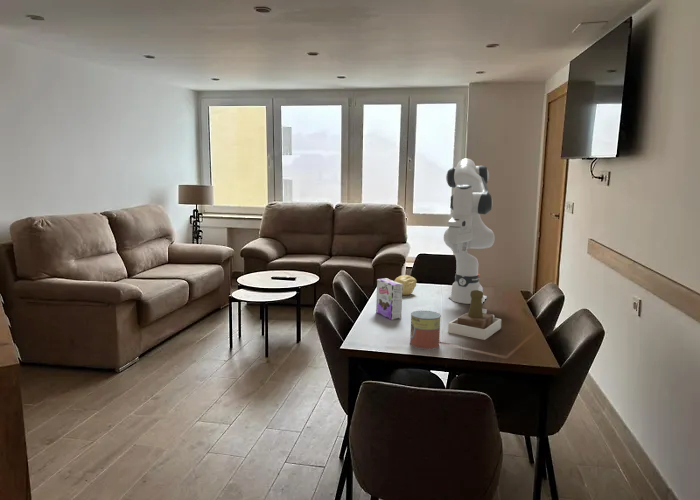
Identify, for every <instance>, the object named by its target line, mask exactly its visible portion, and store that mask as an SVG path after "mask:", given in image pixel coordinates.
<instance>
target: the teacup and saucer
mask: <svg viewBox="0 0 700 500" xmlns="http://www.w3.org/2000/svg"><path fill="white" fill-rule="evenodd" d="M487 310H488V309H487V308H482V312H483V313H485V314H487V312H488V311H487ZM490 314H491V313H490ZM491 315H493V318H495V315H494V314H491Z"/></svg>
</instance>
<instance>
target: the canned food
mask: <svg viewBox="0 0 700 500" xmlns="http://www.w3.org/2000/svg"><path fill="white" fill-rule="evenodd" d="M441 317H442V315H441V314H440V313H439V312H435V311H432V310H416V311H412V312H411V313H410V336H409V337H410V339H409V345H410V346H411V347H413V348H415V349H418V350H424V351H425V350H426V351H427V350H435V349H437V348H439V347H440V336H441V335H440V334H441V332H440V331H441Z"/></svg>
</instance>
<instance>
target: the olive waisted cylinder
mask: <svg viewBox="0 0 700 500" xmlns="http://www.w3.org/2000/svg"><path fill="white" fill-rule="evenodd" d="M483 295H484V291H483V292H482V291H479V290H473V291H471V293H470V296H471V303H470V305H469V308H468V309H469V310H468V312H469V314H468V316H469V317H471V318H483V312H482V309H483V303H482V298H483Z"/></svg>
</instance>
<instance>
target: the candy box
mask: <svg viewBox="0 0 700 500" xmlns="http://www.w3.org/2000/svg"><path fill="white" fill-rule="evenodd" d="M402 291H403V284H401V283H398V282H395V280H392V279H389V278H387V277H384V278H377V279H376V304H375V305H376V309H375V311H376V312H375V313H376V314H379V315H380V316H382V317H384V318H386V319H389V320H391V321H392V320H393V321H394V320H401V319H402V310H403V309H402V307H403V295H402Z"/></svg>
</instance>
